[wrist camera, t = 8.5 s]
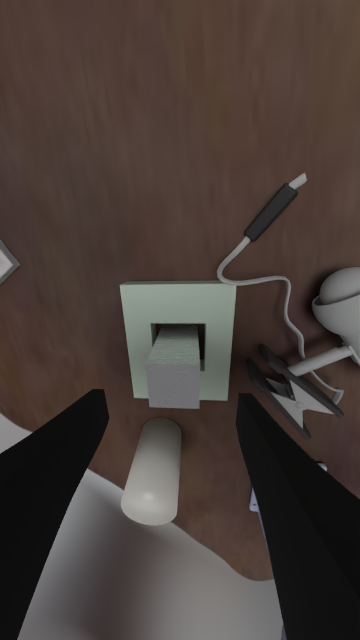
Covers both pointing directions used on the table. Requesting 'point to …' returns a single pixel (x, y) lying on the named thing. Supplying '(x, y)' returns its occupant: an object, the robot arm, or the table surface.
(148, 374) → the steel square peg
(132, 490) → the cream round peg
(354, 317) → the clip-on lamp
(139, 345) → the socket board
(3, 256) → the molding
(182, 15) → the table surface
